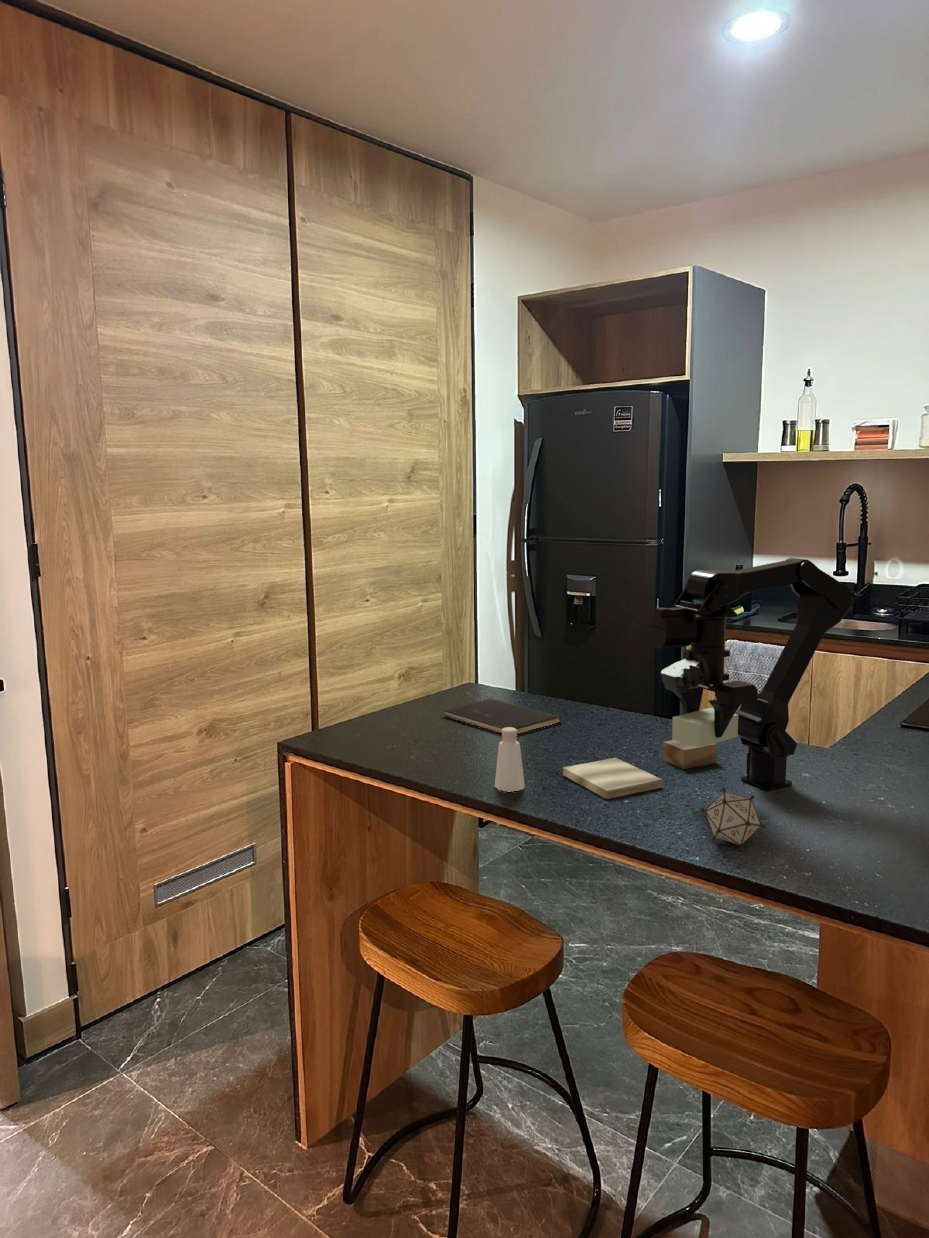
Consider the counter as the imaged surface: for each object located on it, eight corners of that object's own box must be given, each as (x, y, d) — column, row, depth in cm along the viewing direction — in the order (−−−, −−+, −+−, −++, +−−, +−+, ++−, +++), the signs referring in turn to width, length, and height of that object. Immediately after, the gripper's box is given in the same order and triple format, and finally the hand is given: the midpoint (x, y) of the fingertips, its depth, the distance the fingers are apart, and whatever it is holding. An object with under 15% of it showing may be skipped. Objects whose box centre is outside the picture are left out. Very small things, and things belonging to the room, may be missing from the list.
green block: (737, 736, 152) (738, 714, 152) (699, 747, 146) (700, 724, 146) (709, 729, 157) (710, 707, 156) (672, 739, 151) (672, 716, 151)
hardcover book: (510, 739, 188) (510, 729, 188) (442, 718, 205) (442, 709, 205) (561, 725, 198) (561, 715, 198) (492, 706, 215) (492, 697, 215)
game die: (743, 865, 133) (787, 819, 130) (717, 862, 127) (763, 814, 124) (705, 821, 139) (747, 776, 136) (678, 817, 133) (721, 770, 130)
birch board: (661, 787, 156) (662, 779, 156) (606, 799, 151) (606, 790, 151) (615, 765, 169) (615, 757, 168) (562, 775, 164) (563, 767, 163)
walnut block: (716, 763, 169) (716, 743, 169) (683, 770, 166) (684, 750, 165) (695, 755, 175) (695, 736, 174) (663, 761, 171) (663, 741, 171)
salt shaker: (488, 787, 158) (487, 728, 156) (510, 780, 161) (509, 722, 159) (508, 795, 154) (508, 735, 152) (530, 788, 157) (530, 729, 155)
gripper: (635, 640, 154) (634, 725, 156) (709, 658, 137) (706, 754, 140) (685, 634, 159) (683, 717, 161) (761, 651, 142) (758, 743, 145)
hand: (704, 732), depth 152 cm, fingers closed on green block, 6 cm apart
